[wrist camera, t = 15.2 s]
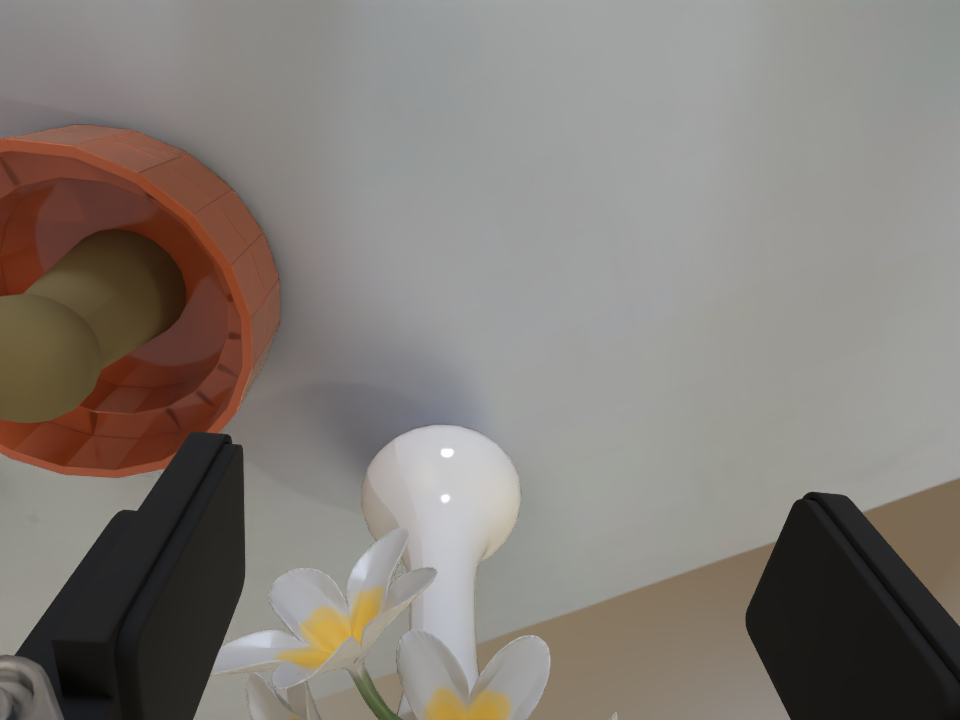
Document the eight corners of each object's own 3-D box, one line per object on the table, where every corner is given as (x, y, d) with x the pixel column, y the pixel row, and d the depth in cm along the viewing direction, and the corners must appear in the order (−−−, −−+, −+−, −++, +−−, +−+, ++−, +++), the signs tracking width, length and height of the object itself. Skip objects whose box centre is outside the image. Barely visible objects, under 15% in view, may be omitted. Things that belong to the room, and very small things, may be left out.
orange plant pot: (-64, 105, 31) (-182, 116, 25) (281, 145, 33) (247, 165, 27) (-2, 401, 38) (-84, 465, 32) (283, 422, 39) (256, 487, 33)
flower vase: (433, 289, 36) (423, 677, 14) (590, 510, 43) (756, 1008, 21) (250, 405, 39) (-18, 900, 16) (427, 597, 46) (416, 1128, 23)
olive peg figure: (102, 350, 36) (-27, 463, 26) (43, 246, 33) (-125, 327, 23) (205, 322, 36) (115, 425, 26) (154, 215, 33) (31, 283, 23)
